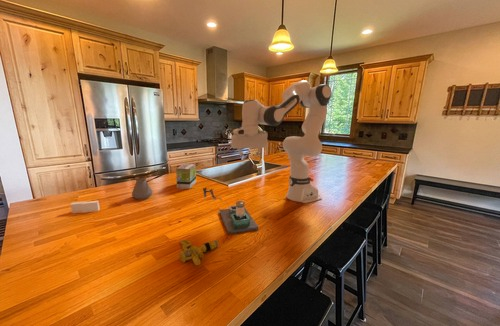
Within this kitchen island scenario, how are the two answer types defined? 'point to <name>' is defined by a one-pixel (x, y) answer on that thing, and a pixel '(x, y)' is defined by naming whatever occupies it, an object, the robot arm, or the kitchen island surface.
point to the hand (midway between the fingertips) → (249, 155)
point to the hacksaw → (208, 191)
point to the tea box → (186, 176)
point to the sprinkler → (195, 251)
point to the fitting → (240, 210)
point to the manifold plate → (237, 221)
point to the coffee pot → (143, 187)
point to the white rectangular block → (85, 206)
